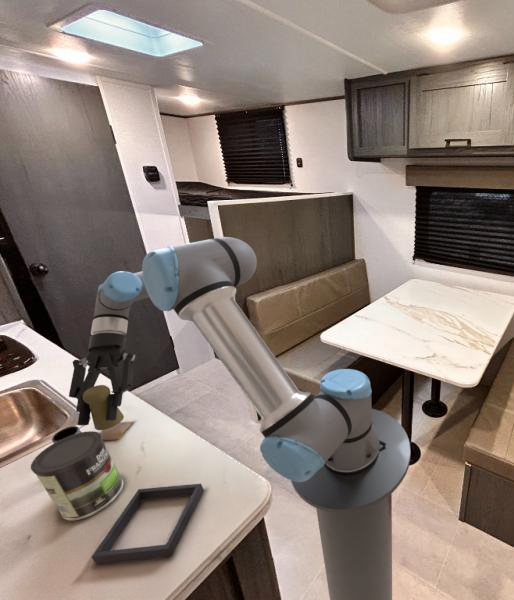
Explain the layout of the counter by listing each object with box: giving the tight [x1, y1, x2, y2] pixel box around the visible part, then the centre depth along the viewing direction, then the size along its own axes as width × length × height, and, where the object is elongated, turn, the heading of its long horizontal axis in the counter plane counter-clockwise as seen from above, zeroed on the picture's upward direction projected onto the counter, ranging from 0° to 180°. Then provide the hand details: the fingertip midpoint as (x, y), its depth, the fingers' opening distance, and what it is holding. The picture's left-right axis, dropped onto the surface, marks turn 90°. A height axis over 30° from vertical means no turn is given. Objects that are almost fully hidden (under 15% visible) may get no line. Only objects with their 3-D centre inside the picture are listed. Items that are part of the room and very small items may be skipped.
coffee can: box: [30, 430, 124, 521], centre depth 66 cm, size 10×10×14 cm
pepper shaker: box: [83, 384, 125, 431], centre depth 83 cm, size 6×6×11 cm
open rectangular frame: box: [91, 483, 205, 566], centre depth 64 cm, size 13×13×2 cm
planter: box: [51, 425, 82, 444], centre depth 74 cm, size 4×4×10 cm
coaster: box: [100, 421, 134, 442], centre depth 86 cm, size 6×6×1 cm
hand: (97, 422), depth 80 cm, fingers closed on pepper shaker, 5 cm apart
